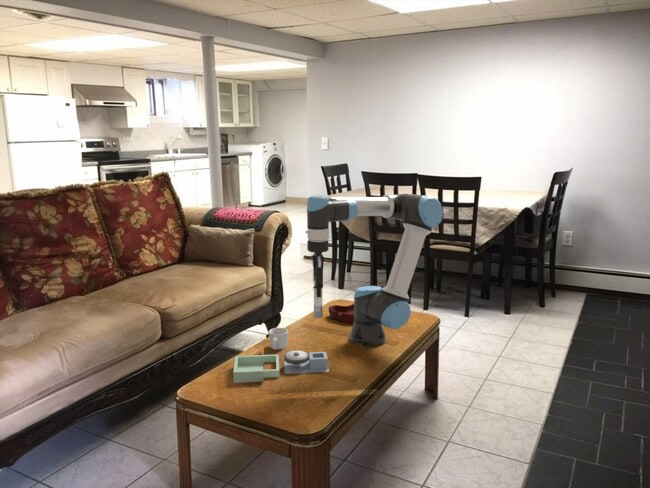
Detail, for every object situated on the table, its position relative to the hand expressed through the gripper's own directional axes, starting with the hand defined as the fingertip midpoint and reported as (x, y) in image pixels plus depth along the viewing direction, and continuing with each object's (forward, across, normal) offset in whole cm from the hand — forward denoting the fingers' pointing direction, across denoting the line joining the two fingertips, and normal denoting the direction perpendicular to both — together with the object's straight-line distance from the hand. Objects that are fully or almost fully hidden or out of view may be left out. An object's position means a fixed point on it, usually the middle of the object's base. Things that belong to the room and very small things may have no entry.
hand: (318, 303), depth 195 cm
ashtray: (+26, -54, +20) cm, 63 cm away
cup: (+26, -19, -14) cm, 35 cm away
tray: (+25, +1, -22) cm, 34 cm away
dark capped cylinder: (+5, 0, 0) cm, 5 cm away
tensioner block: (+26, 0, -4) cm, 26 cm away
